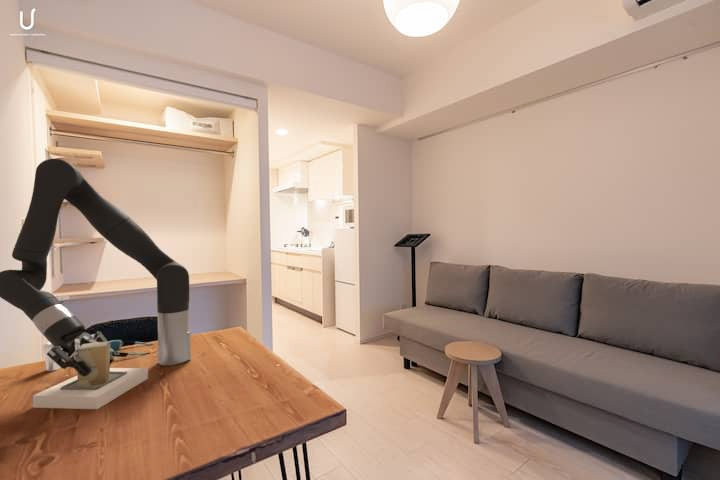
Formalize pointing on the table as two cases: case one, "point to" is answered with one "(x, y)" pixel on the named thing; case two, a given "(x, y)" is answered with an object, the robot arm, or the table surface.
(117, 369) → the socket plate
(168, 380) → the table surface
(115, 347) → the sunglasses
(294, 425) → the table surface
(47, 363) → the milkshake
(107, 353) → the skincare box
